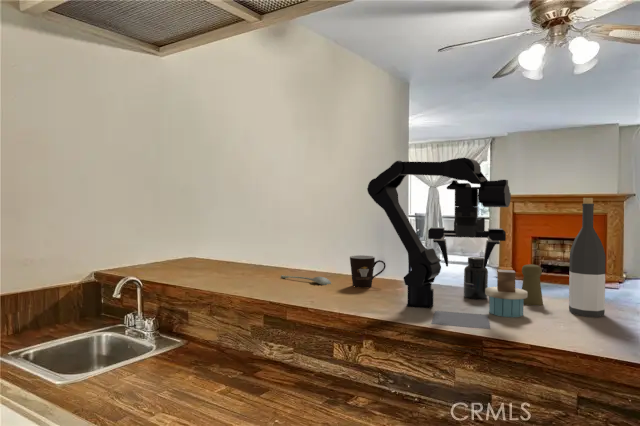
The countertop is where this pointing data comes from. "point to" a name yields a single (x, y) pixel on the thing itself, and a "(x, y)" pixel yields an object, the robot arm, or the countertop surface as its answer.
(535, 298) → the cork
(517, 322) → the countertop surface
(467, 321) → the rubber mat
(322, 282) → the soupspoon
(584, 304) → the wine bottle
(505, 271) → the wooden lid
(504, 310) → the ceramic bowl
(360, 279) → the coffee mug
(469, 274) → the supplement bottle
